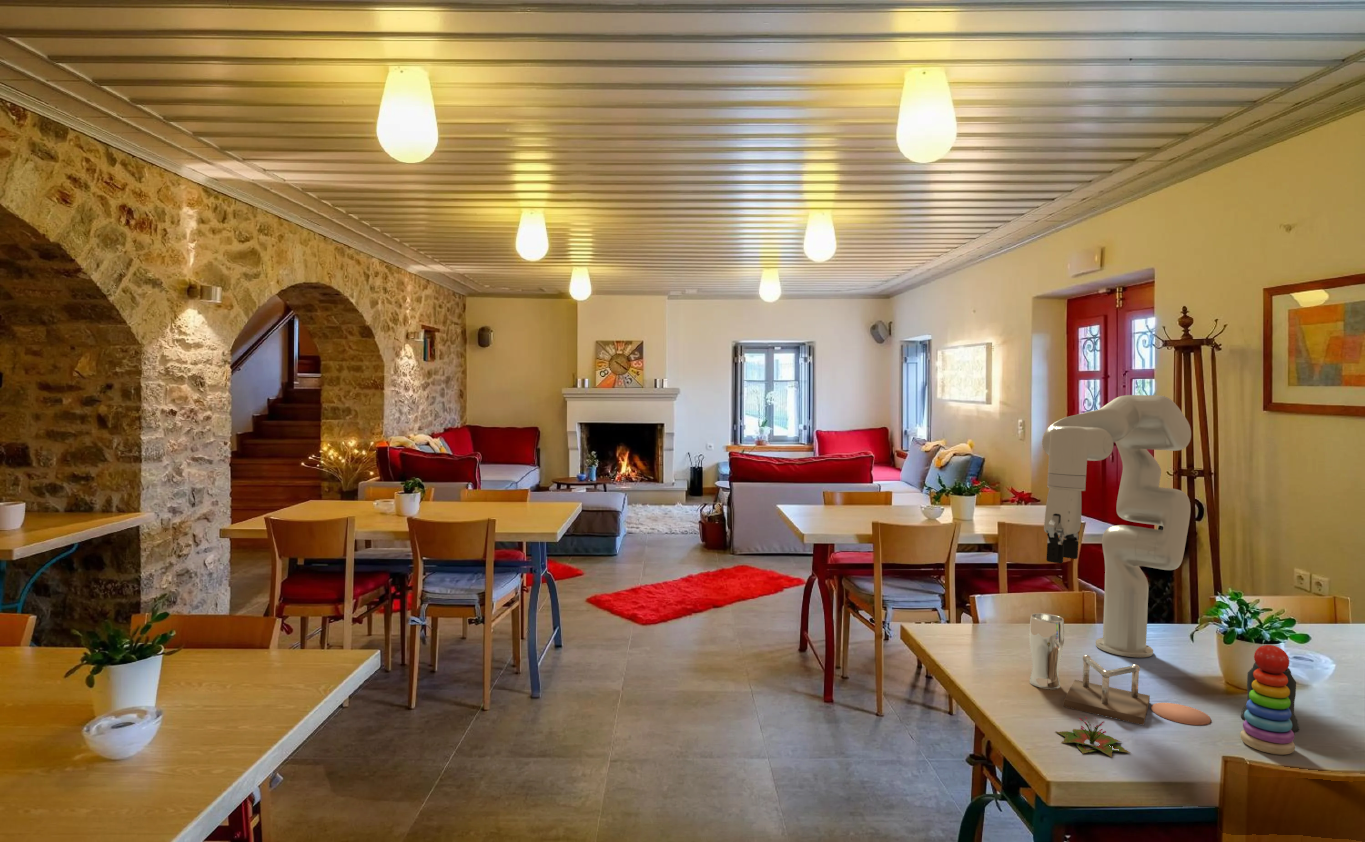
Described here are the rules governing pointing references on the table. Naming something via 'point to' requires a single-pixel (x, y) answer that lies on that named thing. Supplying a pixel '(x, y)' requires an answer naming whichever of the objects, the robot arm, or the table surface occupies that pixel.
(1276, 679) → the stacking toy
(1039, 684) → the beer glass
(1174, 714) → the pad
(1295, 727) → the mug
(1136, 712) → the board
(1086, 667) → the bent wire
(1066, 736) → the lily flower
